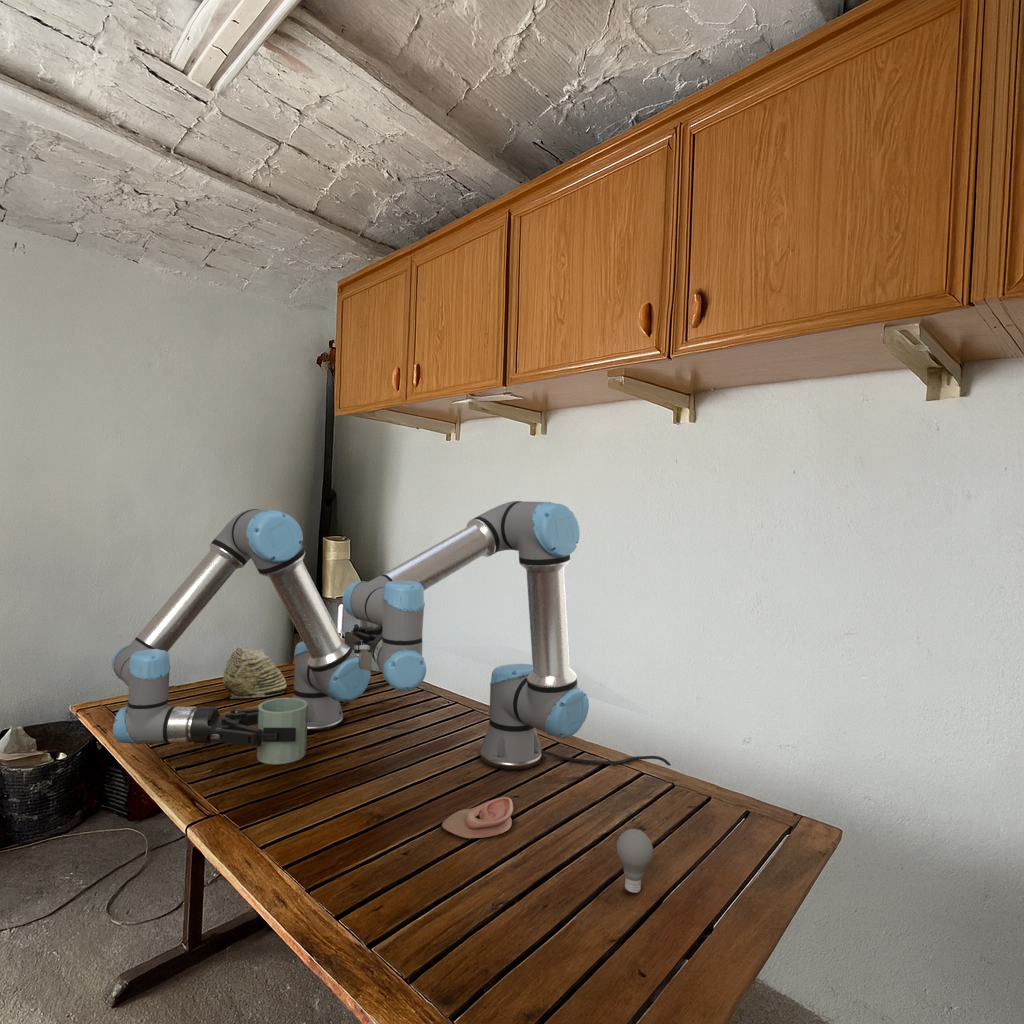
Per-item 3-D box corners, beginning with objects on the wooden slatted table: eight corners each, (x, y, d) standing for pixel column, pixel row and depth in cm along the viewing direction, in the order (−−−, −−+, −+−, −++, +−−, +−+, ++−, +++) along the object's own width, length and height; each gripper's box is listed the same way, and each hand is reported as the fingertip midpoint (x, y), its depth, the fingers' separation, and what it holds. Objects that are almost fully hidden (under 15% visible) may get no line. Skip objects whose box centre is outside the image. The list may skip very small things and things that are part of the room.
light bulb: (610, 879, 108) (613, 822, 108) (644, 879, 109) (647, 822, 109) (619, 902, 102) (622, 840, 102) (655, 901, 103) (658, 840, 103)
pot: (289, 742, 146) (291, 694, 146) (315, 754, 140) (316, 705, 140) (247, 754, 138) (249, 704, 138) (272, 768, 132) (274, 716, 132)
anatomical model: (437, 813, 121) (454, 787, 132) (436, 833, 121) (454, 805, 132) (505, 823, 118) (517, 795, 129) (504, 844, 118) (516, 815, 129)
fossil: (218, 695, 195) (220, 647, 195) (278, 685, 208) (279, 640, 207) (228, 703, 189) (230, 653, 188) (289, 692, 201) (290, 645, 201)
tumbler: (379, 660, 151) (381, 609, 151) (402, 666, 146) (404, 614, 146) (351, 666, 145) (353, 613, 145) (374, 673, 140) (376, 618, 140)
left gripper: (213, 723, 148) (310, 723, 151) (172, 764, 125) (288, 763, 128) (214, 691, 148) (312, 692, 151) (173, 726, 125) (289, 727, 128)
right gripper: (337, 674, 125) (328, 647, 146) (442, 668, 132) (418, 643, 154) (339, 636, 125) (329, 614, 146) (443, 632, 132) (419, 612, 153)
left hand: (301, 725), depth 139 cm, fingers closed on pot, 10 cm apart
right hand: (375, 629), depth 150 cm, fingers closed on tumbler, 8 cm apart
